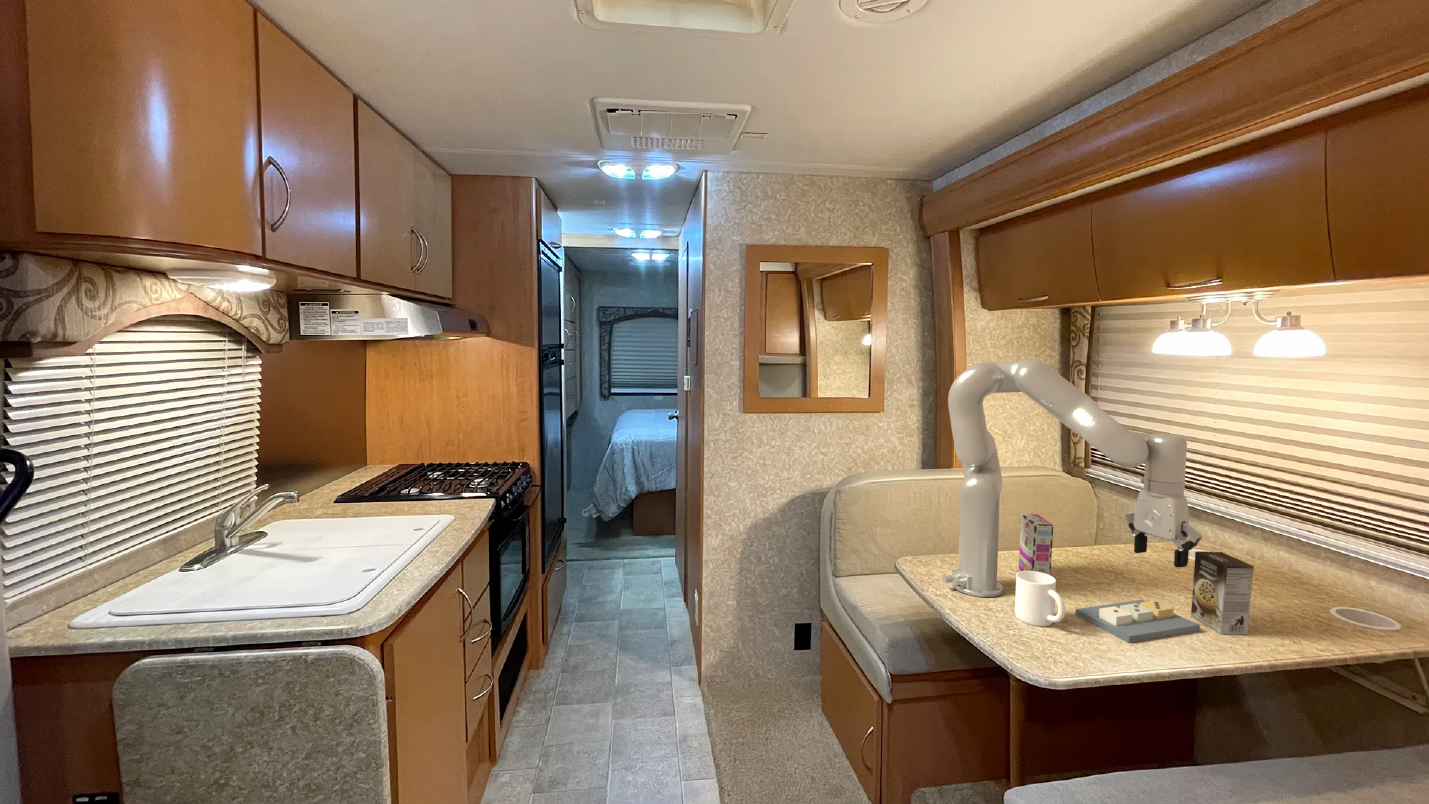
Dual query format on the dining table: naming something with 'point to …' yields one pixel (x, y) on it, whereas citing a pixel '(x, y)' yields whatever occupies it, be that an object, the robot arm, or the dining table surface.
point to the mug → (1037, 599)
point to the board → (1139, 624)
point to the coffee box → (1222, 592)
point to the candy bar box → (1035, 544)
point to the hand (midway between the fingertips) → (1159, 559)
